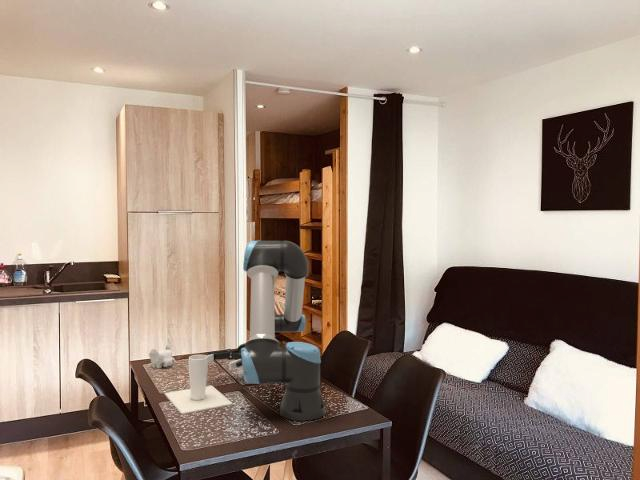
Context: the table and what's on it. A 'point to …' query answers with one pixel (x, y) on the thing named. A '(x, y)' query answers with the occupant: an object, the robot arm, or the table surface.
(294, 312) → the robot arm
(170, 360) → the elephant figurine
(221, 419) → the table surface
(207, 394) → the felt placemat
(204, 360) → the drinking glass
